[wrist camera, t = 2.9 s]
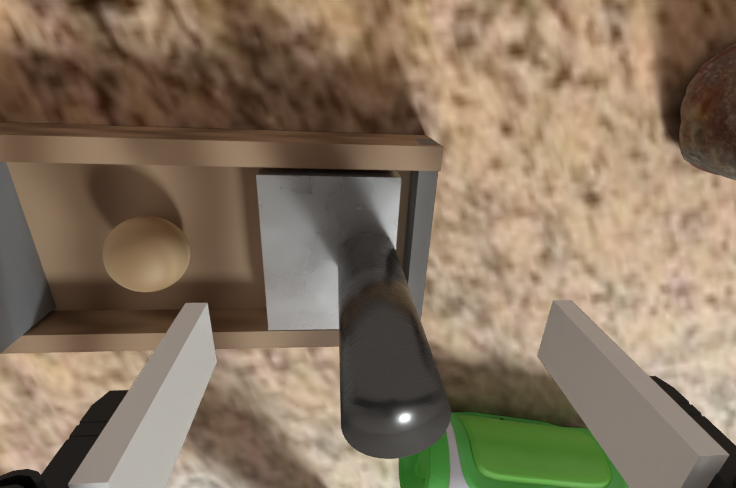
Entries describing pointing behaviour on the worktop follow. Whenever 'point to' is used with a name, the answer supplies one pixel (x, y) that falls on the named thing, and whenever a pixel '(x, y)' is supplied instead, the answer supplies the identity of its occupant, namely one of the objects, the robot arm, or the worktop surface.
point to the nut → (146, 253)
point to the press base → (184, 209)
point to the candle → (711, 116)
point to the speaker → (510, 456)
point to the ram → (353, 299)
